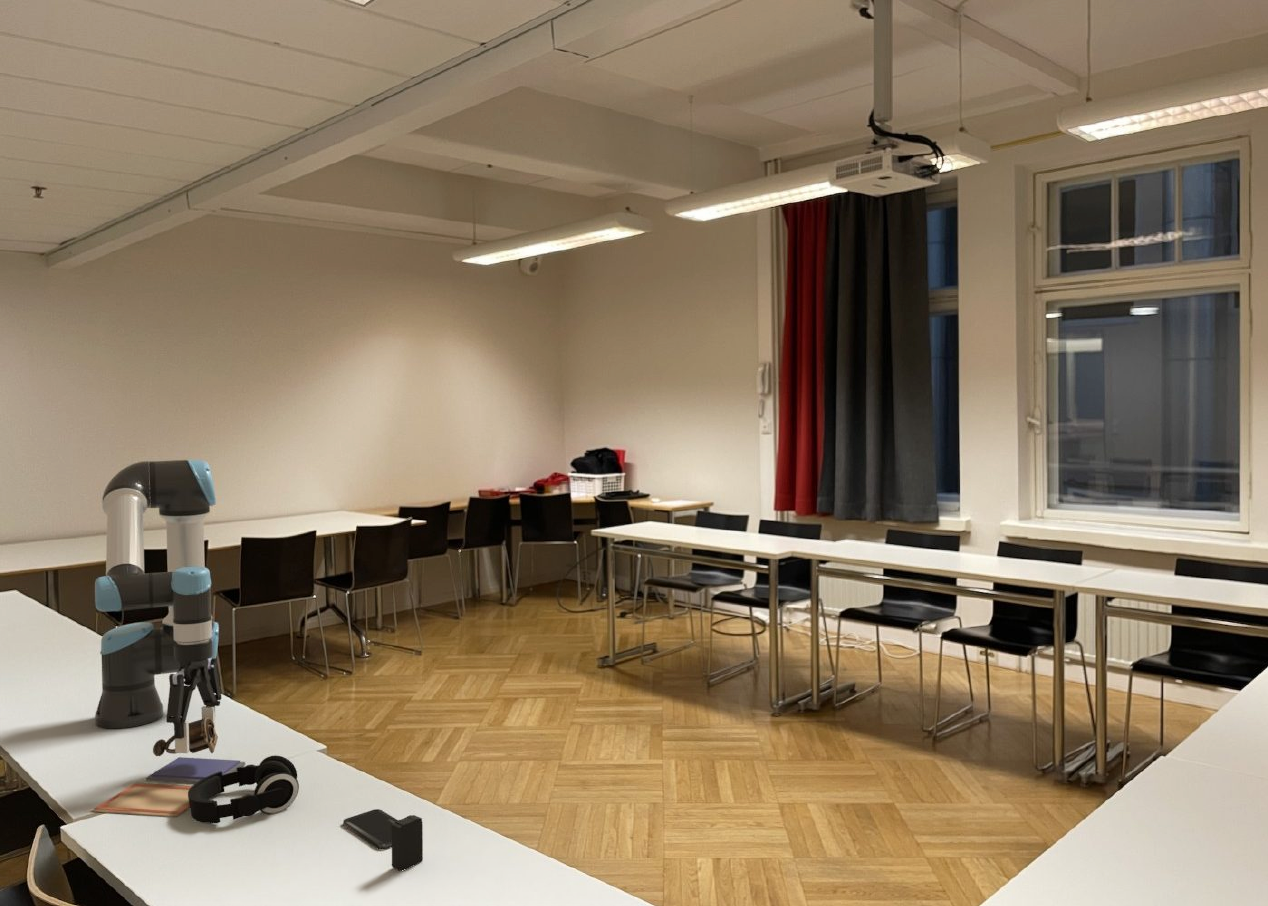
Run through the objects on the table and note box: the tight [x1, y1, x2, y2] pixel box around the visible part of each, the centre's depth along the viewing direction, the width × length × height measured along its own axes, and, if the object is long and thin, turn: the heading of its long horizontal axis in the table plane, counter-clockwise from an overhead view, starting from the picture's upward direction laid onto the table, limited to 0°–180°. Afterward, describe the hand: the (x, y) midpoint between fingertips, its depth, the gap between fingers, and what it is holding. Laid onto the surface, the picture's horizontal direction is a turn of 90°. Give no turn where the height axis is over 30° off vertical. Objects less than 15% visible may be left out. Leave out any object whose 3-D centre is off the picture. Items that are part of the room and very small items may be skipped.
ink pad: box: [145, 756, 246, 785], centre depth 208 cm, size 11×16×1 cm
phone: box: [342, 808, 399, 850], centre depth 180 cm, size 8×1×15 cm
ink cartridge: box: [391, 814, 424, 872], centre depth 167 cm, size 5×2×8 cm, turn 141°
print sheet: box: [90, 782, 193, 818], centre depth 194 cm, size 14×18×1 cm
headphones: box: [188, 754, 300, 824], centre depth 191 cm, size 18×8×20 cm
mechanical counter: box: [152, 718, 219, 757], centre depth 207 cm, size 7×13×10 cm
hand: (195, 744), depth 208 cm, fingers closed on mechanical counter, 9 cm apart
